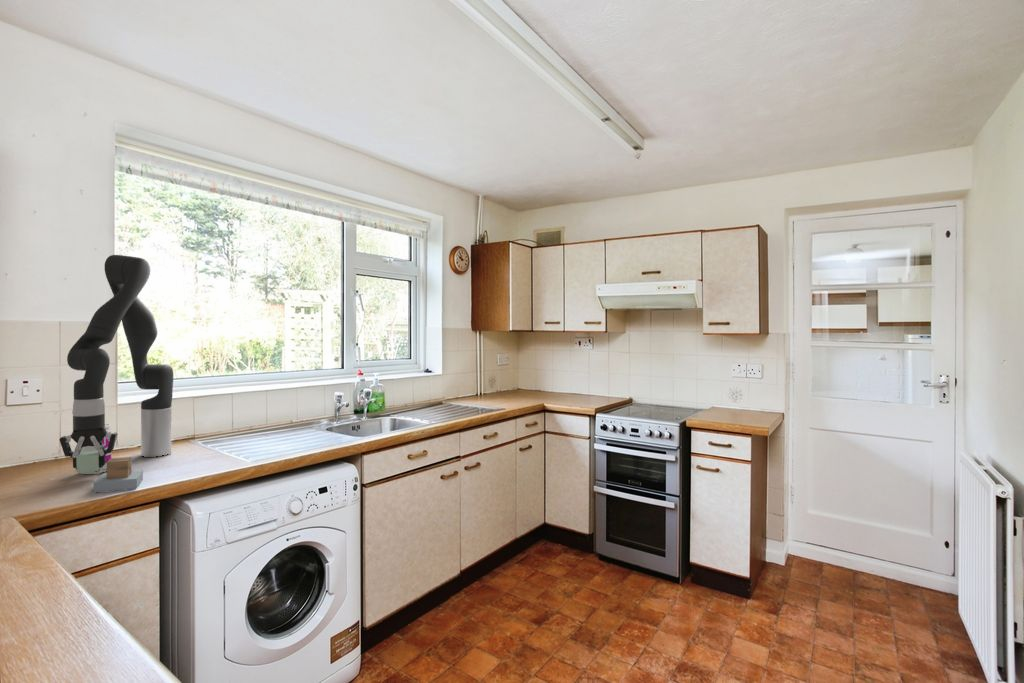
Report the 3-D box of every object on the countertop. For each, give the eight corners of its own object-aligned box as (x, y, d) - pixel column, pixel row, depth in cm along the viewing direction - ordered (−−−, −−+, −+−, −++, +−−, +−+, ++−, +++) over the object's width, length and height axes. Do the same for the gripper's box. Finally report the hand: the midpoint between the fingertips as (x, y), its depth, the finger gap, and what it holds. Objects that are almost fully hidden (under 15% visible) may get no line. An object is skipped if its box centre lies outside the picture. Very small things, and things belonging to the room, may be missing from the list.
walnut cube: (110, 474, 153) (110, 458, 153) (131, 473, 155) (131, 456, 155) (106, 479, 149) (106, 462, 149) (127, 477, 151) (127, 460, 151)
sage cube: (81, 468, 158) (81, 452, 158) (102, 466, 161) (101, 450, 160) (76, 472, 154) (76, 456, 154) (97, 471, 156) (97, 454, 156)
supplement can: (117, 470, 169) (117, 424, 168) (89, 476, 161) (89, 429, 161) (100, 467, 171) (100, 422, 171) (72, 473, 164) (72, 426, 163)
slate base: (102, 483, 154) (102, 473, 154) (142, 479, 159) (142, 470, 159) (93, 493, 145) (93, 482, 145) (136, 488, 150) (136, 478, 150)
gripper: (120, 409, 163) (121, 462, 164) (62, 412, 157) (63, 467, 157) (115, 413, 156) (115, 469, 157) (54, 416, 150) (55, 474, 151)
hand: (89, 467), depth 157 cm, fingers closed on sage cube, 5 cm apart
